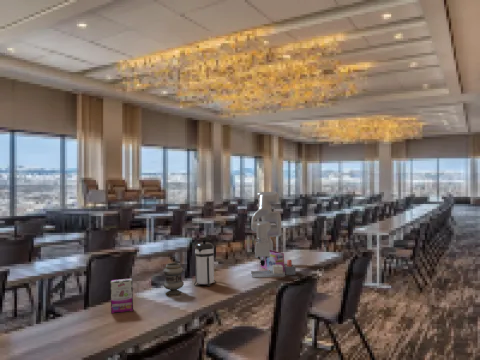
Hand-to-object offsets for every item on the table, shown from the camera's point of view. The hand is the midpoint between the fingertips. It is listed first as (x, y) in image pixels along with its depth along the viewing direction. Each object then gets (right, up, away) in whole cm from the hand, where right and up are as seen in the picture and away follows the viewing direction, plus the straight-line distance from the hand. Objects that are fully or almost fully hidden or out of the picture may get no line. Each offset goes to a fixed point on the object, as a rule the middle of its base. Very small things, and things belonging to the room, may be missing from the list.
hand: (262, 265), depth 283 cm
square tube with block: (+20, -7, +5) cm, 21 cm away
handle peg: (+20, -7, +3) cm, 21 cm away
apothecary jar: (-56, -8, -43) cm, 71 cm away
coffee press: (-39, -8, -21) cm, 45 cm away
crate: (+11, -7, -1) cm, 13 cm away
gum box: (+8, -7, +19) cm, 22 cm away
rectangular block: (+4, -7, -1) cm, 8 cm away
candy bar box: (-78, -8, -75) cm, 109 cm away
